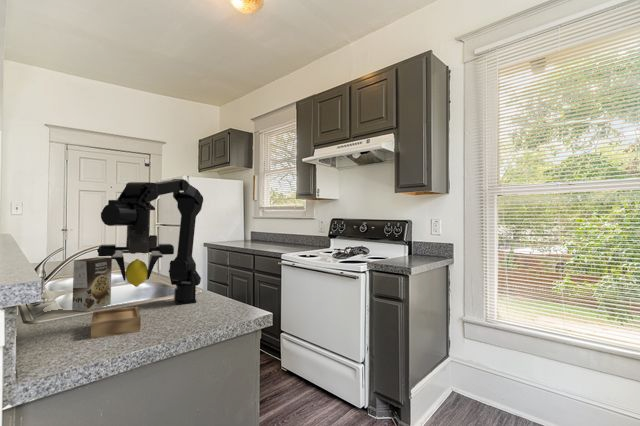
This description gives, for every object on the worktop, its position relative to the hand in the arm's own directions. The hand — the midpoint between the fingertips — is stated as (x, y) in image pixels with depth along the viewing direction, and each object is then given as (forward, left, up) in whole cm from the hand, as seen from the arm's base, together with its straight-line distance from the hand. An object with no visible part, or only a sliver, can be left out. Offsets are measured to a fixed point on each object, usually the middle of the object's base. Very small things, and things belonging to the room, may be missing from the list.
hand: (136, 279), depth 96 cm
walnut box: (+5, +2, -13) cm, 14 cm away
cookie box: (+12, -24, -13) cm, 29 cm away
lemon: (0, 0, -2) cm, 2 cm away
